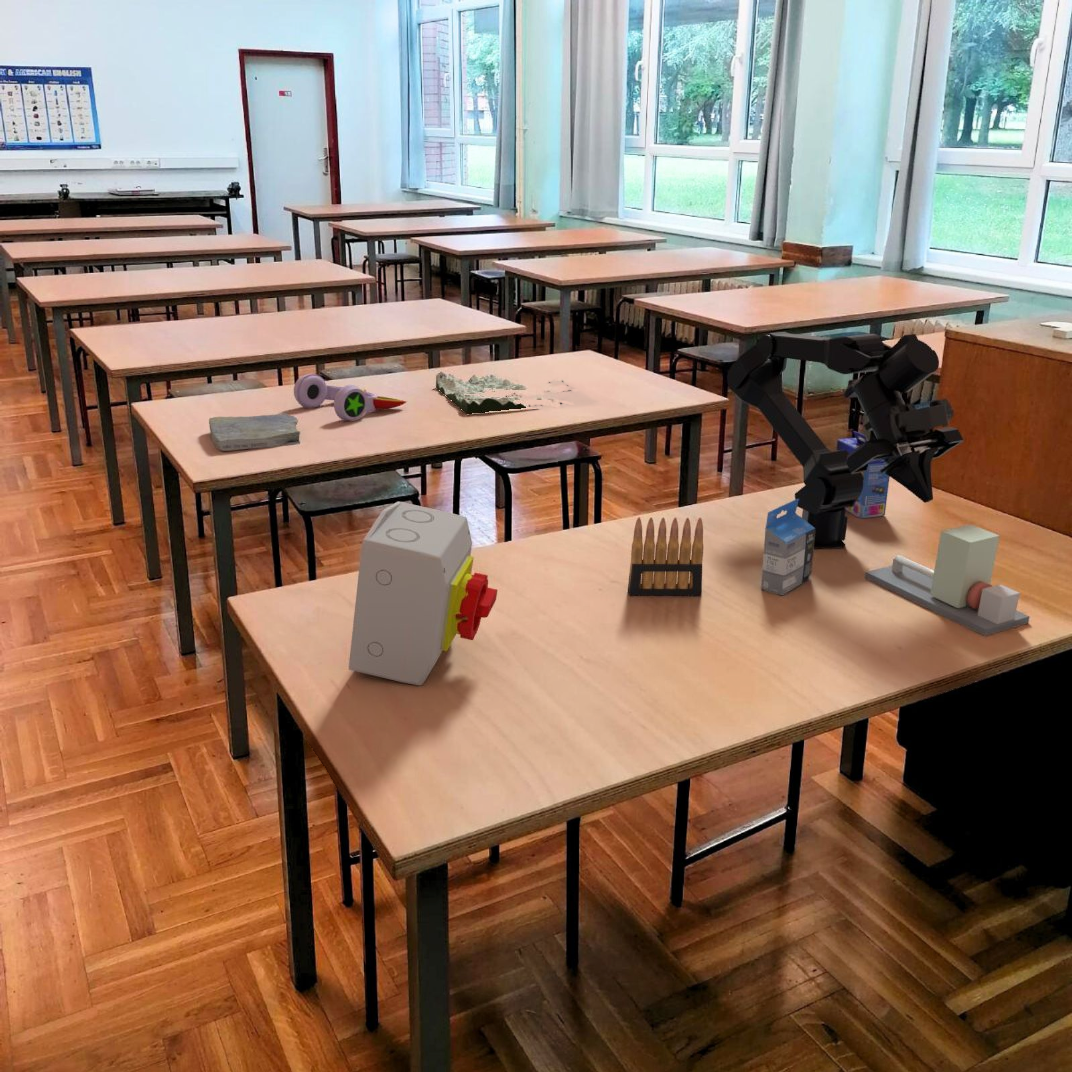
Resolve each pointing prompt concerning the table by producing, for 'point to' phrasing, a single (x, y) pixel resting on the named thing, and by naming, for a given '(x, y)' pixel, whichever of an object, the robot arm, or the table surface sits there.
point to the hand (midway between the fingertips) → (929, 501)
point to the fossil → (253, 431)
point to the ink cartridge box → (868, 482)
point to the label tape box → (787, 550)
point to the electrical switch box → (415, 592)
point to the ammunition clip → (666, 561)
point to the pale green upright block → (963, 562)
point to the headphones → (340, 397)
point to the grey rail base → (981, 614)
